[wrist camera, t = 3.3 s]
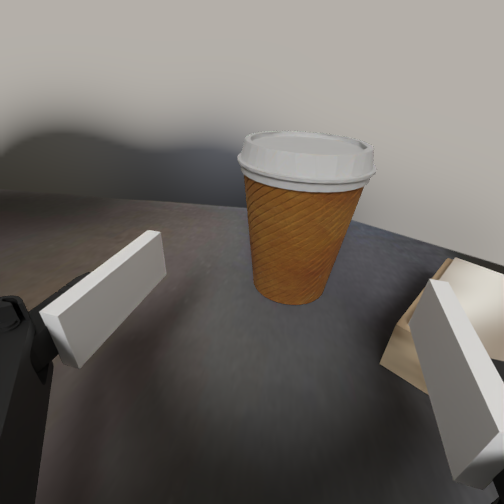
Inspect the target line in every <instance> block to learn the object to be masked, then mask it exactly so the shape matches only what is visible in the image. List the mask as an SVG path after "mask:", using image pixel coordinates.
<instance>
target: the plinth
mask: <svg viewBox="0 0 504 504" xmlns="http://www.w3.org/2000/svg"><path fill="white" fill-rule="evenodd" d="M432 279H434V280H440V281H445V282H449V284H450V286H451V288H452V290H453V291H454V293H455V295H456V297H457V299H458V301H459V302H460V304H461V306H462V308H463V310H464V311H465V313H466V315H467V317H468V319H469V321H470V322H471V324H472V326H473V328H474V330H475V331H476V333H477V335H478V337H479V339H480V341H481V342H482V344H483V346H484V348H485V350H486V351H487V353H488V355H489V357H490V358H491V359H496V360H501V361H504V275H503V274H501V273H498V272H495V271H492V270H489V269H487V268H484V267H481V266H478V265H475V264H472V263H470V262H467V261H464V260H461V259H458V258H456V257H455V259H454V260H452V259H449V258H447V260H446V261H445V262H444V263H443V265H442V266H441V267H440V269H439V270H438V271H437V272H436V274H435V275H434V276H433V278H432ZM424 289H425V288H424ZM424 289H423V290H422V292H421V293H420V294H419V296H418V297H417V298H416V299H415V301H414V302H413V303H412V305H411V306H410V307H409V308H408V310H407V311H406V312H405V314H404V315H403V316H402V317H401V319H400V320H399V321H398V323H397V324H396V326H395V328H394V330H393V333H392V335H391V337H390V340H389V342H388V345H387V347H386V349H385V352H384V354H383V356H382V359H381V361H380V363H379V364H381V365H382V366H384V367H385V368H387V369H388V370H390V371H392V372H393V373H395V374H396V375H398V376H399V377H401V378H403V379H404V380H406V381H407V382H409V383H410V384H412V385H413V386H415V387H417V388H418V389H420V390H421V391H423V392H424V393H426V394H428V390H427V387H426V383H425V380H424V376H423V373H422V369H421V366H420V362H419V359H418V355H417V352H416V348H415V345H414V341H413V338H412V334H411V331H410V327H409V322H410V320H411V318H412V315H413V313H414V311H415V309H416V307H417V304H418V302H419V300H420V298H421V296H422V293H423V291H424ZM428 395H429V394H428Z"/></svg>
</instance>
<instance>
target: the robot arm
mask: <svg viewBox="0 0 504 504" xmlns="http://www.w3.org/2000/svg"><path fill="white" fill-rule="evenodd" d="M166 274H167V273H166V266H165V259H164V251H163V244H162V237H161V232H157V231H151V230H147V231H146V232H145V233H143V234H142V235H141V236H139V237H138V238H137V239H135V240H134V241H133V242H131V243H130V244H129V245H127V246H126V247H125V248H123V249H122V250H121V251H119V252H118V253H117V254H115V255H114V256H113V257H111V258H110V259H109V260H107V261H106V262H105V263H103V264H102V265H101V266H99V267H98V268H97V269H95V270H94V271H93V272H88V273H85V274H83V275H81V276H78V277H76V278H75V279H73V280H72V281H71V282H69V283H68V284H67V285H66V286H64V287H62V288H61V289H60V290H58V292H55V293H54V294H53V295H51V296H50V297H49V298H47V299H46V300H44V301H43V302H42V303H40V304H39V305H38V306H36V307H35V308H33V309H32V310H31V311H29V312H28V311H27V309H26V307H25V304H24V302H23V300H22V299H21V298H20V297H18V296H3V297H0V504H35V497H36V490H37V483H38V476H39V468H40V461H41V454H42V447H43V440H44V432H45V425H46V418H47V411H48V404H49V396H50V389H51V382H52V375H53V362H52V360H53V359H54V358H55V357H56V356H57V355H58V354H59V356H60V358H61V361H62V363H63V364H65V365H68V366H71V367H75V368H78V369H80V368H81V367H82V366H83V365H84V363H85V362H86V361H87V360H88V359H89V358H90V357H91V356H92V355H93V354H94V353H95V352H96V350H97V349H98V348H99V347H100V346H101V345H102V344H103V343H104V342H105V341H106V340H107V339H108V337H109V336H110V335H111V334H112V333H113V332H114V331H115V330H116V329H117V328H118V327H119V325H120V324H121V323H122V322H123V321H124V320H125V319H126V318H127V317H128V316H129V315H130V314H131V312H132V311H133V310H134V309H135V308H136V307H137V306H138V305H139V304H140V303H141V302H142V301H143V299H144V298H145V297H146V296H147V295H148V294H149V293H150V292H151V291H152V290H153V289H154V287H155V286H156V285H157V284H158V283H159V282H160V281H161V280H162V279H163V278H164V277H165V276H166ZM409 327H410V331H411V334H412V338H413V341H414V345H415V348H416V352H417V355H418V359H419V362H420V366H421V369H422V373H423V376H424V380H425V383H426V387H427V390H428V394H429V397H430V401H431V404H432V408H433V411H434V415H435V418H436V422H437V425H438V429H439V432H440V436H441V439H442V443H443V446H444V450H445V453H446V457H447V460H448V464H449V467H450V471H451V474H452V478H453V481H454V482H458V483H461V484H464V485H468V486H471V487H474V488H478V489H481V490H483V489H484V488H485V487H487V486H488V485H489V484H490V483H491V482H492V481H493V482H494V485H495V487H496V490H497V492H498V495H499V497H498V498H497V499H496V500H495V501H494V502H492V503H491V504H504V361H501V360H496V359H491V358H490V357H489V355H488V353H487V351H486V350H485V348H484V346H483V344H482V342H481V341H480V339H479V337H478V335H477V333H476V331H475V330H474V328H473V326H472V324H471V322H470V321H469V319H468V317H467V315H466V313H465V311H464V310H463V308H462V306H461V304H460V302H459V301H458V299H457V297H456V295H455V293H454V291H453V290H452V288H451V286H450V284H449V282H445V281H440V280H434V279H429V280H428V282H427V284H426V287H425V289H424V291H423V293H422V296H421V298H420V300H419V302H418V304H417V307H416V309H415V311H414V313H413V315H412V318H411V320H410V322H409Z"/></svg>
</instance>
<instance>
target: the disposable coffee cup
mask: <svg viewBox="0 0 504 504" xmlns="http://www.w3.org/2000/svg"><path fill="white" fill-rule="evenodd" d="M373 153H374V147H373V146H372V145H371V144H369V143H367V142H364V141H361V140H358V139H354V138H349V137H345V136H338V135H332V134H324V133H314V132H301V131H269V132H259V133H253V134H250V135H248V136H246V137H245V141H244V145H243V149H242V152H241V153H240V154H239V155H238V162H239V164H240V165H241V171H242V172H243V174H244V179H245V192H246V202H247V211H248V224H249V235H250V245H251V256H252V265H253V266H252V267H253V277H254V278H253V280H254V285H255V287H256V289H257V290H258V291H259V292H260V293H261V294H262V295H263V296H265V297H266V298H268V299H270V300H273V301H275V302H278V303H283V304H289V305H301V304H307V303H310V302H313V301H314V300H316V299H318V298H319V297H320V296H321V295H322V293H323V291H324V288H325V285H326V283H327V280H328V278H329V275H330V273H331V270H332V267H333V265H334V262H335V260H336V257H337V255H338V252H339V250H340V247H341V244H342V242H343V239H344V237H345V234H346V232H347V229H348V227H349V224H350V222H351V219H352V216H353V214H354V211H355V209H356V206H357V204H358V201H359V198H360V196H361V193H362V190H363V188H364V186H365V185H367V184H368V182H369V180H370V178H371V177H372V176H373V175H374V174H375V173H376V170H377V168H376V166H375V165H374V164H373V156H374V155H373Z"/></svg>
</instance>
